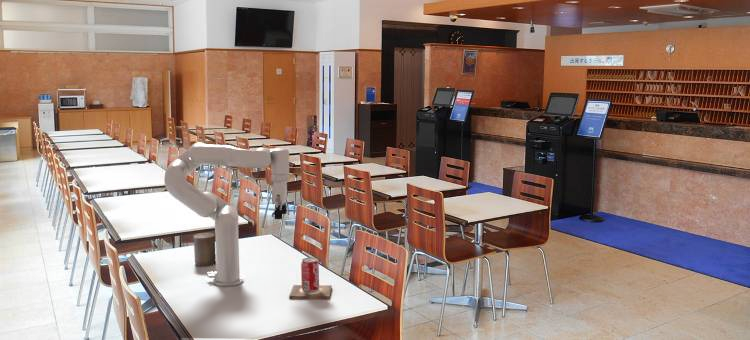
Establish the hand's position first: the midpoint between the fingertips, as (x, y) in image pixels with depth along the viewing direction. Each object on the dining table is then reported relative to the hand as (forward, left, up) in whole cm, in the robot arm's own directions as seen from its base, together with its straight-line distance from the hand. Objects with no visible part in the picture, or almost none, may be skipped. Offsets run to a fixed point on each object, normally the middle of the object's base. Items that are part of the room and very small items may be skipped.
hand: (280, 216), depth 277 cm
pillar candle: (-39, +22, -28) cm, 53 cm away
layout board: (+15, -18, -28) cm, 36 cm away
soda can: (+15, -18, -27) cm, 35 cm away
